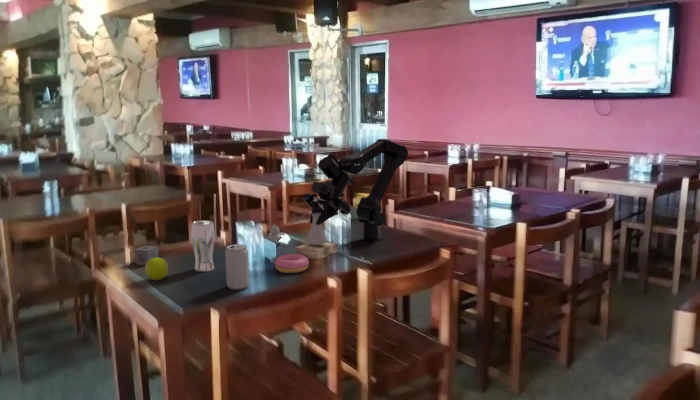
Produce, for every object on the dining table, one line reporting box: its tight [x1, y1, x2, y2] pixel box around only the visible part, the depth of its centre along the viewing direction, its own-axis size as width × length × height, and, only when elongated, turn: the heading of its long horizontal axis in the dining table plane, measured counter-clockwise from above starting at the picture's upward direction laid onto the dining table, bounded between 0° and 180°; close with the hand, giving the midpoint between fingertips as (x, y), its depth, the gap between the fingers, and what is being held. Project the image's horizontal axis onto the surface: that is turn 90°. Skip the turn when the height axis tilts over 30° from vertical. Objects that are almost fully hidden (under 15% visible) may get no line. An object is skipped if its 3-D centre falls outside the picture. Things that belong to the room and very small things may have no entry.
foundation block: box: [295, 241, 339, 261], centre depth 203 cm, size 12×9×3 cm
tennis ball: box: [144, 257, 169, 281], centre depth 176 cm, size 7×7×7 cm
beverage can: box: [224, 243, 250, 291], centre depth 168 cm, size 6×6×12 cm
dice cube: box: [134, 245, 159, 266], centre depth 193 cm, size 5×5×5 cm
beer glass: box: [190, 219, 216, 273], centre depth 185 cm, size 7×7×15 cm
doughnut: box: [273, 253, 310, 274], centre depth 186 cm, size 11×11×4 cm
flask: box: [305, 213, 329, 245], centre depth 202 cm, size 7×7×10 cm
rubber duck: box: [267, 223, 285, 245], centre depth 216 cm, size 5×7×8 cm
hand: (313, 223), depth 200 cm, fingers closed on flask, 3 cm apart
